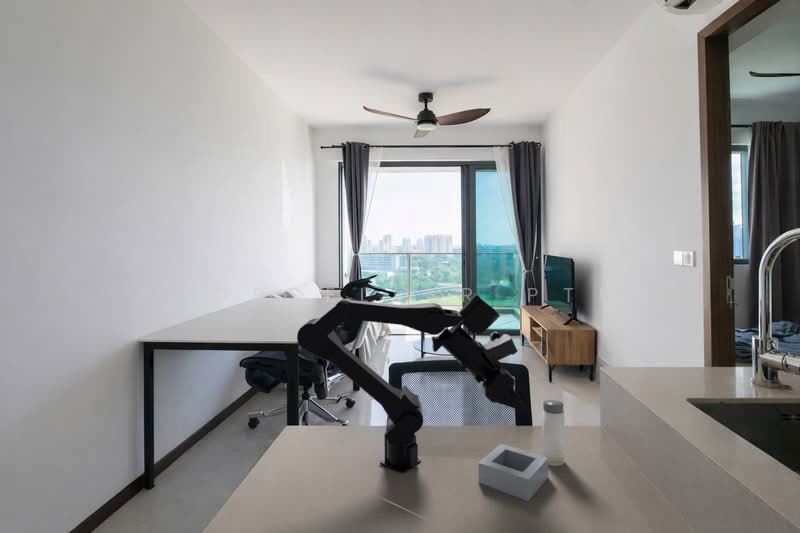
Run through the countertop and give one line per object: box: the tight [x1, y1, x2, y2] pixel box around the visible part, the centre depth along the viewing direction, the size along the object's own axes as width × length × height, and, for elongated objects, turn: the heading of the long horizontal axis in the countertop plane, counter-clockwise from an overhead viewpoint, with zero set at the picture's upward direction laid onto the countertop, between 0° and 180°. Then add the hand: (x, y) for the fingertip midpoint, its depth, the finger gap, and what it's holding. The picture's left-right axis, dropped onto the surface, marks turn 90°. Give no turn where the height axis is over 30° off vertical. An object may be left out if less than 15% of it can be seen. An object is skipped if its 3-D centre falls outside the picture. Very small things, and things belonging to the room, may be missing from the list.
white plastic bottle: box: [541, 399, 565, 467], centre depth 91 cm, size 4×4×12 cm
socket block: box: [478, 443, 549, 502], centre depth 84 cm, size 10×10×4 cm
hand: (518, 401), depth 91 cm, fingers open, 9 cm apart
